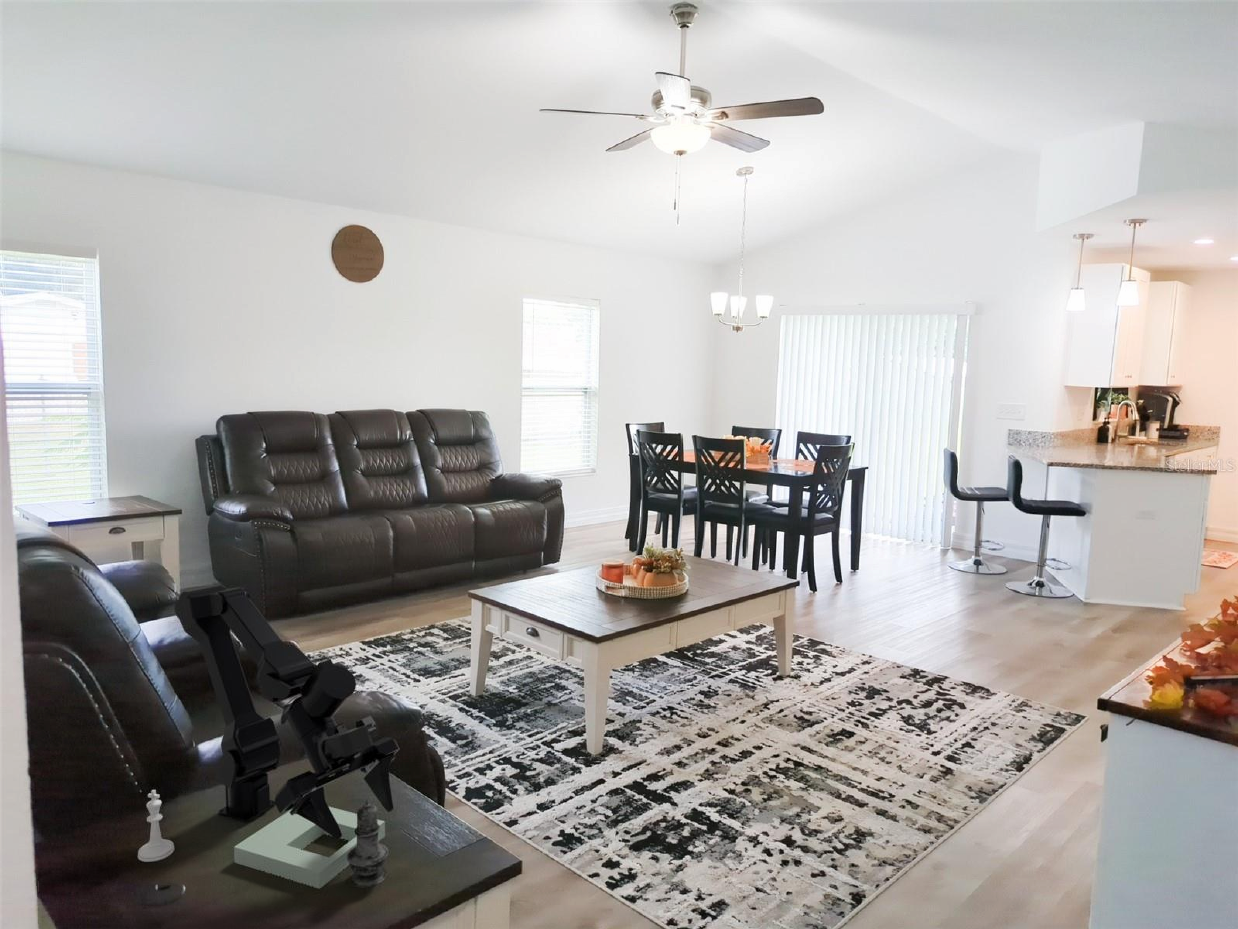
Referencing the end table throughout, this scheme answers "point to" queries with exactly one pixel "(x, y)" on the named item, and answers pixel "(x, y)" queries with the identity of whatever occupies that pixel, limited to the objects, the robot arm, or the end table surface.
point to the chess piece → (155, 834)
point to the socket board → (299, 848)
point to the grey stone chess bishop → (367, 850)
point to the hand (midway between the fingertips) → (366, 824)
